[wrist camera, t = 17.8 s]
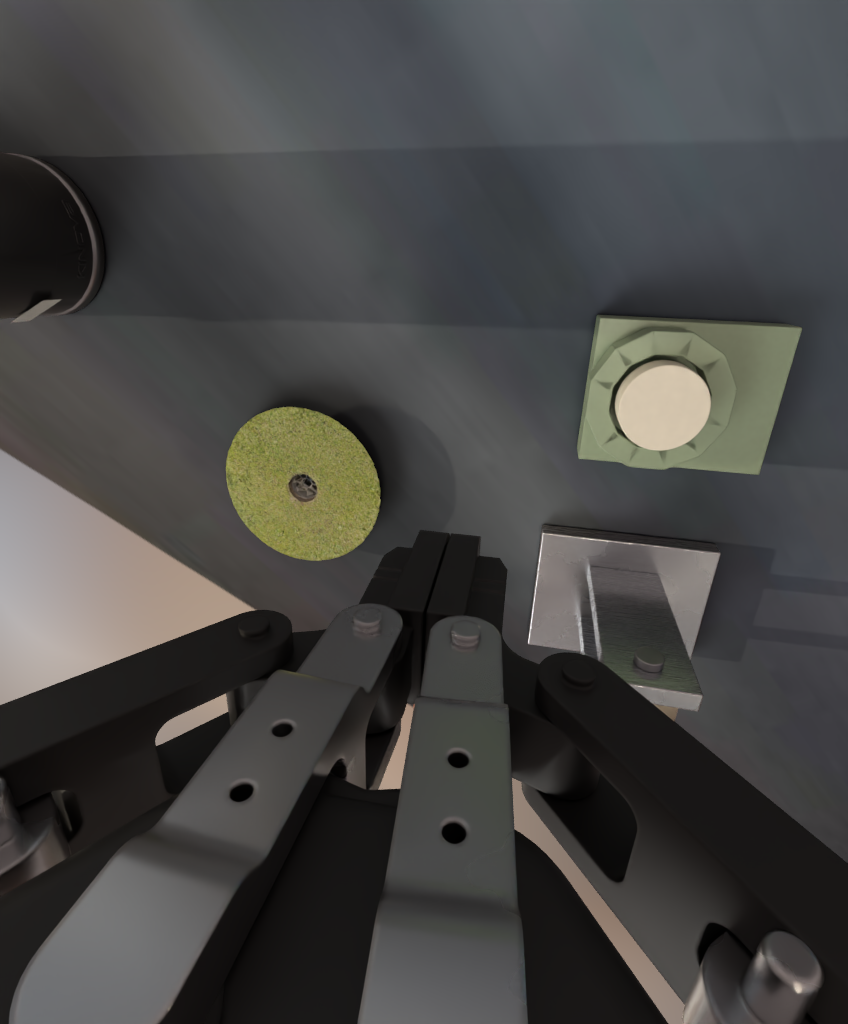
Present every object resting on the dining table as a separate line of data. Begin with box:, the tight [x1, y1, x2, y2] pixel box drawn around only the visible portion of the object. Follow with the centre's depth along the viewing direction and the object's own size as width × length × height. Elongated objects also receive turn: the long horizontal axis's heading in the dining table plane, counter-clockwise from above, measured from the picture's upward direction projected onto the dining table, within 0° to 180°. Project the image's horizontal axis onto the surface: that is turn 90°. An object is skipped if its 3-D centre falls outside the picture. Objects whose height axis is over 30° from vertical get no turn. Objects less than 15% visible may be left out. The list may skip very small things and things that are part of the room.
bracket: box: [528, 525, 721, 711], centre depth 33 cm, size 11×9×13 cm
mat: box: [226, 407, 381, 561], centre depth 39 cm, size 11×11×2 cm
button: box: [615, 360, 711, 451], centre depth 29 cm, size 4×4×2 cm
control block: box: [577, 315, 802, 475], centre depth 31 cm, size 10×8×4 cm
